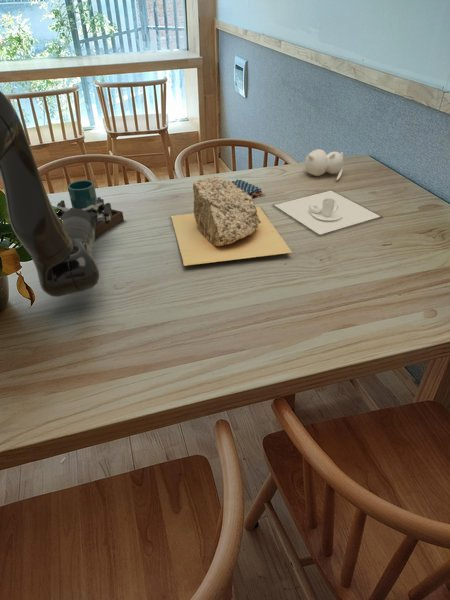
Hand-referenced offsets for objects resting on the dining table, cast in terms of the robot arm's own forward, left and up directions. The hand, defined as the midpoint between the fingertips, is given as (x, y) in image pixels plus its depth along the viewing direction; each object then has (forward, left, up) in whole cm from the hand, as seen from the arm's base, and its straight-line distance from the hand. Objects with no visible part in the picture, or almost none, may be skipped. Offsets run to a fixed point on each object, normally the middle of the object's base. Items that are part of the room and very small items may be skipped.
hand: (81, 202), depth 108 cm
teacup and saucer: (+49, +39, -8) cm, 63 cm away
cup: (-2, +3, -7) cm, 8 cm away
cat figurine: (+40, +63, -8) cm, 75 cm away
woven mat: (+23, +38, -8) cm, 45 cm away
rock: (+32, +14, -8) cm, 36 cm away
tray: (-2, +3, -8) cm, 8 cm away
